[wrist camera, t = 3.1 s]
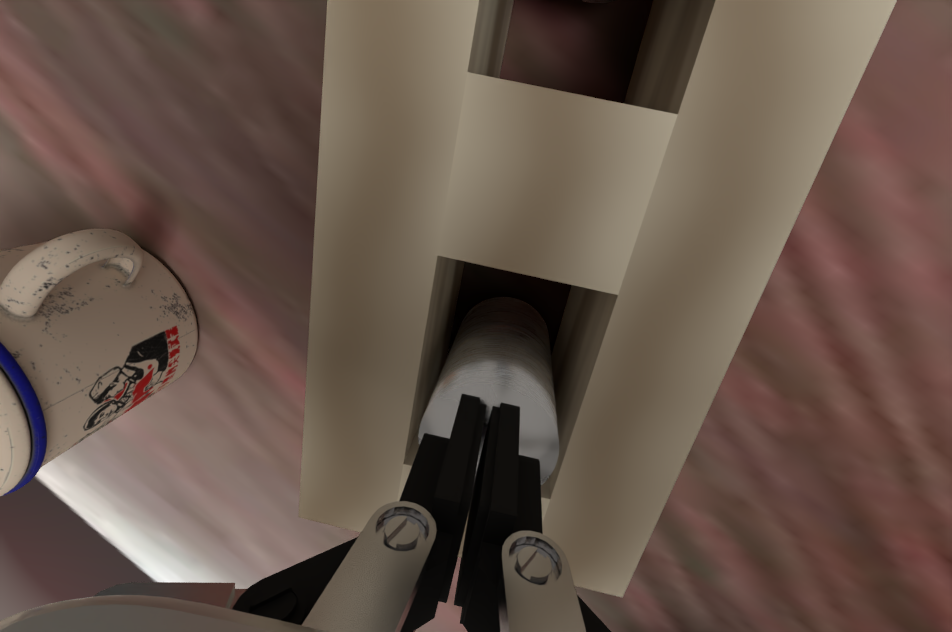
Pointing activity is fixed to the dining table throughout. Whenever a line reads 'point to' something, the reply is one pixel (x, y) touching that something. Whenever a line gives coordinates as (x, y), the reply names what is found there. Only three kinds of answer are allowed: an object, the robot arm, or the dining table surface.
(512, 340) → the steel peg
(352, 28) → the birch block
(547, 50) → the dining table surface
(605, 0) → the graphite peg
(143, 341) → the teacup with lid
